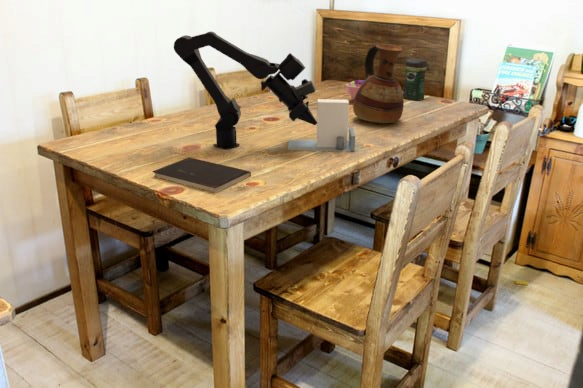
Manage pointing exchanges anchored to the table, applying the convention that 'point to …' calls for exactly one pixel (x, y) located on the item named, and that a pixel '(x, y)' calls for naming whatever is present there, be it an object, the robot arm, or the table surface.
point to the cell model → (353, 87)
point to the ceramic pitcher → (380, 88)
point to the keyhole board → (312, 146)
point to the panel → (331, 122)
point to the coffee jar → (414, 79)
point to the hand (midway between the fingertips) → (316, 124)
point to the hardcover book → (202, 174)
